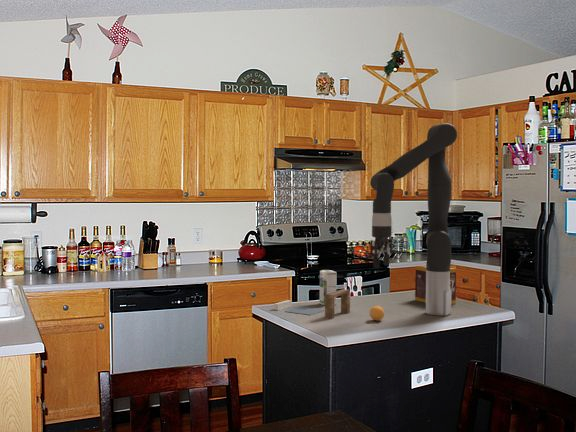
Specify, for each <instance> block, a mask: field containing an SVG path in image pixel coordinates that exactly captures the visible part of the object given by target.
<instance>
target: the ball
mask: <svg viewBox="0 0 576 432" xmlns="http://www.w3.org/2000/svg"><path fill="white" fill-rule="evenodd" d="M369 316H370V318H371V320H373V321H377V322H378V321H381V320H383V318H384V317H385V310H384V308H382V307H381V306H379V305H375V306H372V307H371V308H370V309H369Z"/></svg>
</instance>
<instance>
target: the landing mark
mask: <svg viewBox="0 0 576 432" xmlns="http://www.w3.org/2000/svg"><path fill="white" fill-rule="evenodd" d="M284 312H285V313H290V314H298V315H299V314H300V315H305V316H312V315H315V313H316V314H317V313H322V312H325V309H321V308H315V307H307V306H298V307H295V308H292V309H288V310H284Z"/></svg>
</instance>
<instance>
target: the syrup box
mask: <svg viewBox="0 0 576 432" xmlns="http://www.w3.org/2000/svg"><path fill="white" fill-rule="evenodd" d="M337 275H338V274H337V271H334V270H330V269H322V270H319V302H318V303H319V304H320V305H322V306H324V307H325V294H328V293H331V292H335V291H337V283H338V282H337ZM336 305H337V297H334V306H336Z"/></svg>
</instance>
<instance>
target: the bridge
mask: <svg viewBox="0 0 576 432" xmlns="http://www.w3.org/2000/svg"><path fill="white" fill-rule="evenodd" d="M334 297H336V298H337V297H340V314H350V313H351V289H345V288H342V289H340V290H339V289H338V290H336V291H335V292H331V293H328V294H325V306H324V310H325V311H324V318H325V319H329V320H332V319H335V305H334Z"/></svg>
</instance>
